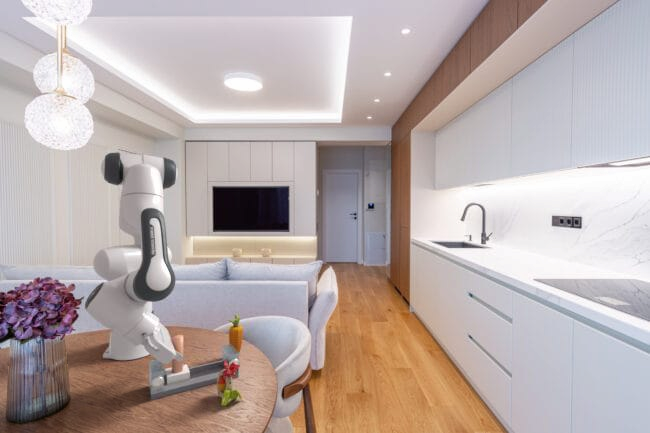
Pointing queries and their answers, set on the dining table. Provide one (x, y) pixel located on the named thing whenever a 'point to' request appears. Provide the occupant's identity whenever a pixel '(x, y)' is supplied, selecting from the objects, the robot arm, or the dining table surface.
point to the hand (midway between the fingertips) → (179, 355)
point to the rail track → (198, 374)
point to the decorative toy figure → (227, 383)
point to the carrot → (236, 334)
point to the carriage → (177, 364)
